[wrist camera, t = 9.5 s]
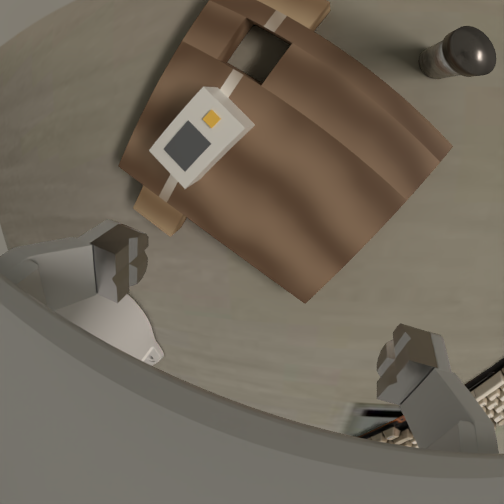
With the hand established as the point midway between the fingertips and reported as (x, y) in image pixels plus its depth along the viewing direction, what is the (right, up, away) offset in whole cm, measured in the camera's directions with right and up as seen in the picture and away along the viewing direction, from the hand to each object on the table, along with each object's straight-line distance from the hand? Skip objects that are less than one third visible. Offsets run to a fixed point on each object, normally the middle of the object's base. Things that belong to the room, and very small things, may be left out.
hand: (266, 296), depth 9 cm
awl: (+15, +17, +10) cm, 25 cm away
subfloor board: (+2, +11, +17) cm, 20 cm away
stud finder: (-4, +11, +16) cm, 20 cm away
